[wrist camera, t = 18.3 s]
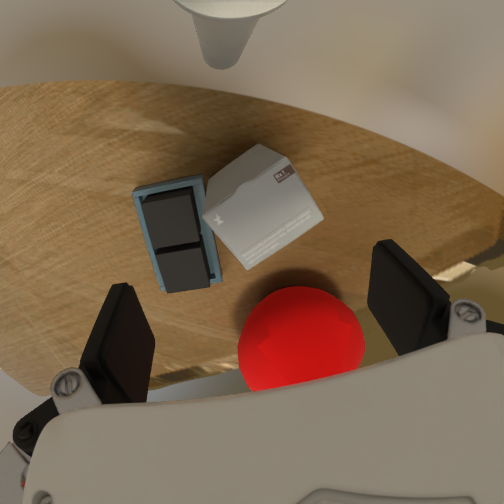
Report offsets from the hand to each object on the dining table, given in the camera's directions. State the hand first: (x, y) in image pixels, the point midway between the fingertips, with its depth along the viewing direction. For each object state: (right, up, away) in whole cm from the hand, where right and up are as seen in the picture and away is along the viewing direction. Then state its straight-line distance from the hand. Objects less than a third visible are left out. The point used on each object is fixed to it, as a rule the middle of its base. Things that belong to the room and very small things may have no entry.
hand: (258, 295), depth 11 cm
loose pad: (-10, +7, +27) cm, 29 cm away
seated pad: (-10, +1, +30) cm, 31 cm away
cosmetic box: (-1, +11, +26) cm, 29 cm away
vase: (+6, -8, +38) cm, 39 cm away
